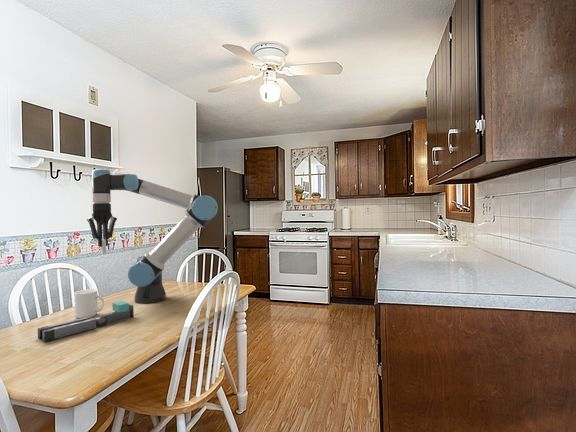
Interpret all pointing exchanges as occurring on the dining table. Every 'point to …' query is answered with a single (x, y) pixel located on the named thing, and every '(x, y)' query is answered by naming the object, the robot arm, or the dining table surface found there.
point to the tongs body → (100, 320)
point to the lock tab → (120, 306)
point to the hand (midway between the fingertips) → (103, 253)
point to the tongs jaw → (68, 329)
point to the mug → (87, 303)
